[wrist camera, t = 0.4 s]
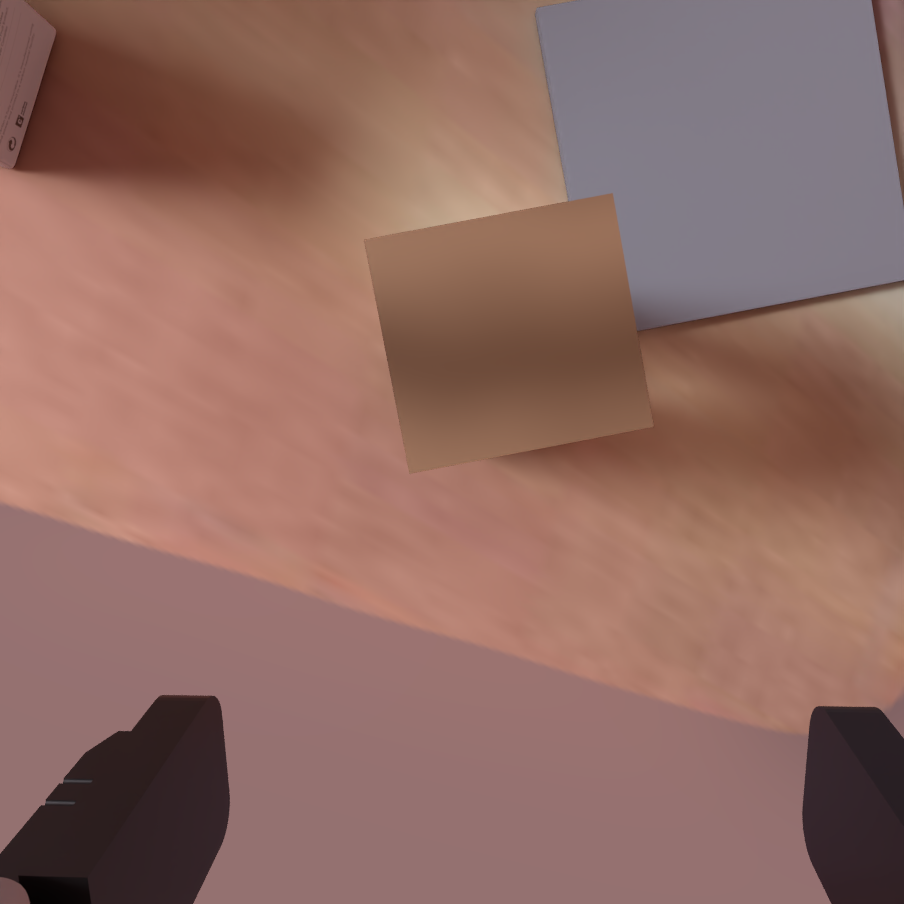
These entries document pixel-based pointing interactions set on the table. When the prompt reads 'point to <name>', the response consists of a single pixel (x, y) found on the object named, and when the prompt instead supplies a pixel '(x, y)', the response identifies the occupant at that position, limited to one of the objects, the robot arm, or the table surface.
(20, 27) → the skincare box
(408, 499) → the table surface
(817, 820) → the robot arm
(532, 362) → the stool
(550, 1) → the table surface
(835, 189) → the mat
